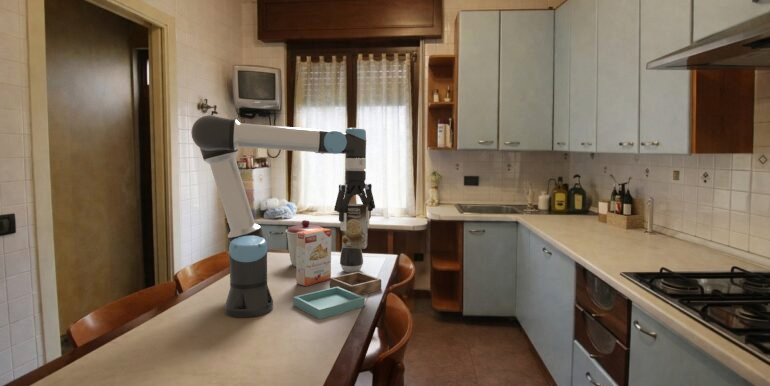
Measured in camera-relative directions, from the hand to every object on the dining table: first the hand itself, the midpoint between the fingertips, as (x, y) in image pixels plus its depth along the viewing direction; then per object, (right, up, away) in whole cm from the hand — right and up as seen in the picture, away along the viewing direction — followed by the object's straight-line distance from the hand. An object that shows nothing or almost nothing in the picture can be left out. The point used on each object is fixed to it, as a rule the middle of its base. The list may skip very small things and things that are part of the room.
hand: (355, 228), depth 162 cm
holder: (0, -23, +2) cm, 23 cm away
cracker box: (-17, -22, +11) cm, 30 cm away
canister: (-25, -20, +37) cm, 49 cm away
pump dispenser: (-3, -21, +27) cm, 35 cm away
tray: (-8, -25, -16) cm, 31 cm away
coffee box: (0, -7, +1) cm, 7 cm away
